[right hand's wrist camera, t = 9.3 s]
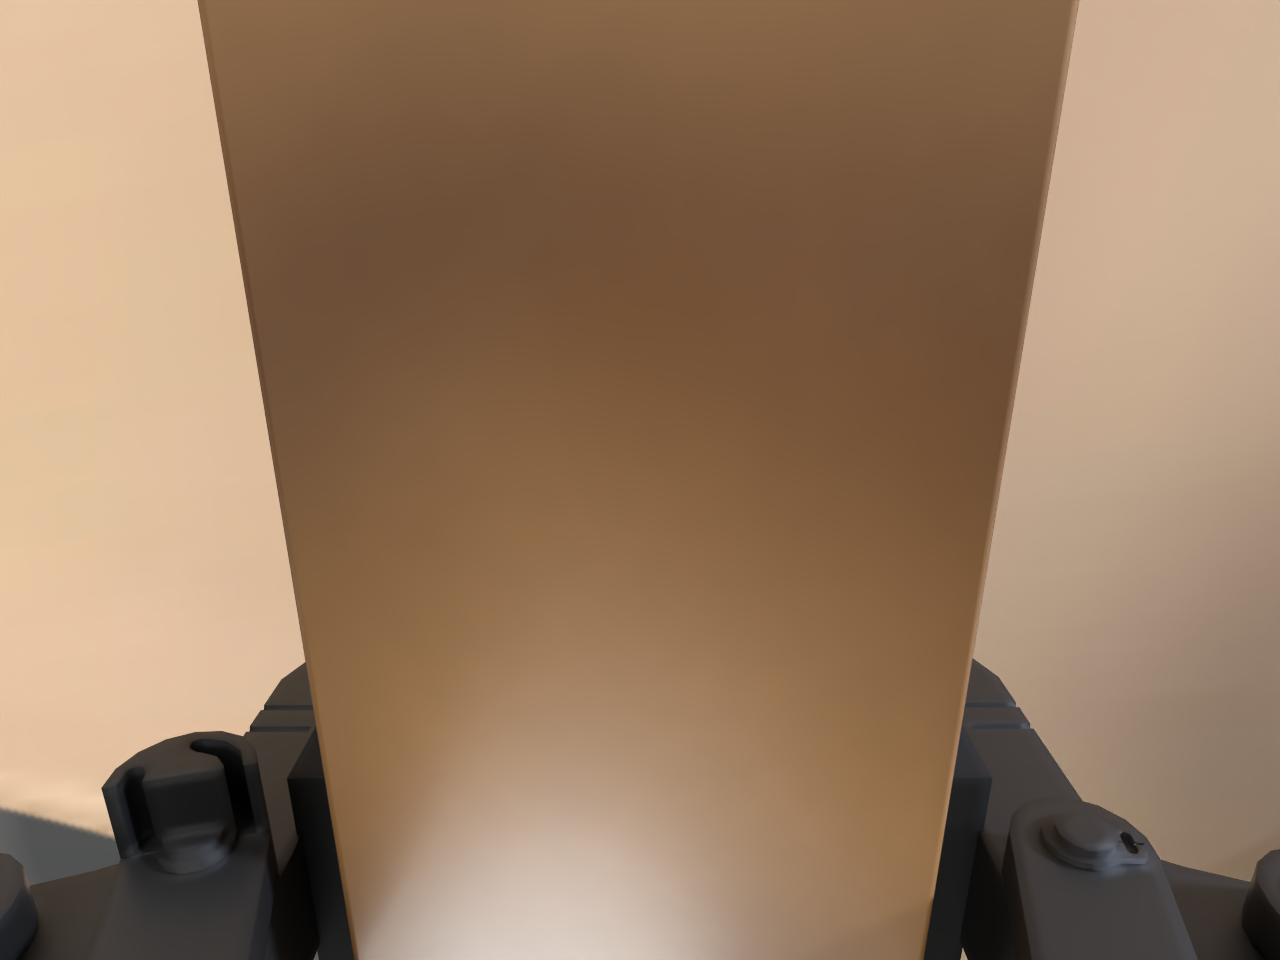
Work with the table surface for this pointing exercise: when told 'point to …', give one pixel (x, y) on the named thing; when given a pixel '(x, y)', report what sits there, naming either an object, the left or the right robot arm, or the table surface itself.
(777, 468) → the bar
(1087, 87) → the table surface
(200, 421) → the table surface
